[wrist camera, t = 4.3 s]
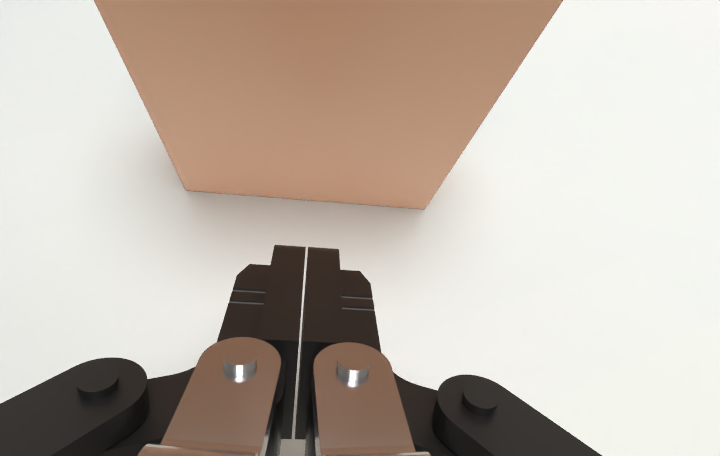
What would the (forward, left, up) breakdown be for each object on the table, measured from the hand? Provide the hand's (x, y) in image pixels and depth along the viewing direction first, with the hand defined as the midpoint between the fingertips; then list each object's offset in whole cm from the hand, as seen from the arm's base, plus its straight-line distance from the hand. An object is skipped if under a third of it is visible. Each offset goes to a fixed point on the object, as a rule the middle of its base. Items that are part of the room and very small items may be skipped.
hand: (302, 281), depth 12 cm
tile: (0, +7, -8) cm, 11 cm away
